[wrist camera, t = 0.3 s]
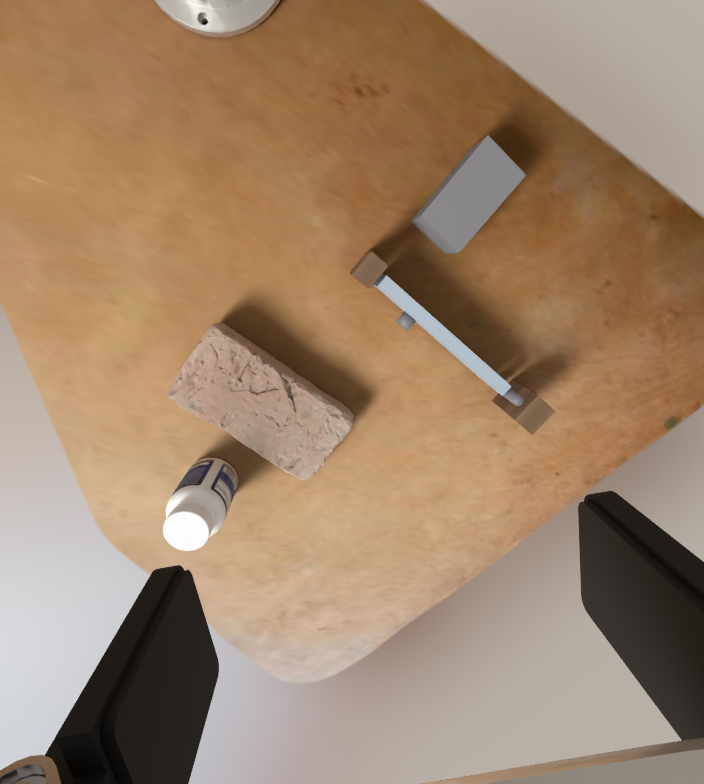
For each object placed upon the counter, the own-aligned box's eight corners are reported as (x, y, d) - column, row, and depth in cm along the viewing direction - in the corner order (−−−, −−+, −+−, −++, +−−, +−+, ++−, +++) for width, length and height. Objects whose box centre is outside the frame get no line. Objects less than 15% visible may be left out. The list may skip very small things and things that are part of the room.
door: (502, 382, 47) (527, 399, 41) (486, 399, 47) (508, 418, 41) (380, 273, 43) (388, 275, 37) (364, 293, 43) (369, 298, 38)
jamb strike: (349, 272, 43) (352, 274, 37) (366, 252, 43) (371, 251, 37) (364, 285, 44) (369, 288, 38) (380, 265, 43) (388, 265, 37)
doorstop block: (410, 221, 42) (420, 216, 38) (469, 149, 41) (487, 134, 36) (444, 254, 43) (459, 252, 38) (503, 185, 42) (526, 175, 37)
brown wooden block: (492, 400, 47) (514, 419, 42) (512, 379, 47) (538, 395, 41) (507, 414, 48) (532, 435, 42) (528, 393, 47) (555, 411, 42)
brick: (356, 410, 47) (359, 425, 43) (311, 470, 49) (309, 490, 44) (221, 316, 44) (208, 322, 40) (176, 383, 46) (159, 396, 41)
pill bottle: (182, 493, 49) (147, 548, 39) (195, 449, 47) (161, 496, 38) (231, 507, 49) (208, 565, 40) (245, 465, 48) (224, 514, 39)
